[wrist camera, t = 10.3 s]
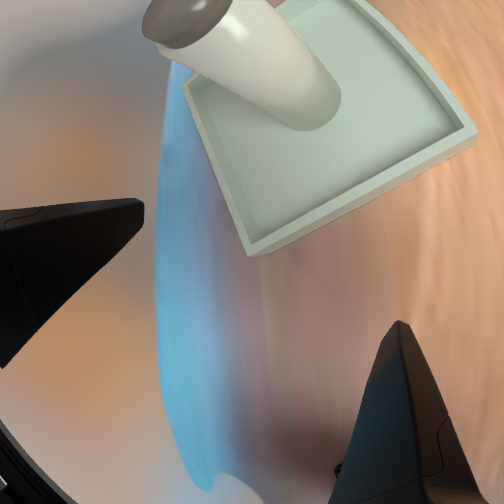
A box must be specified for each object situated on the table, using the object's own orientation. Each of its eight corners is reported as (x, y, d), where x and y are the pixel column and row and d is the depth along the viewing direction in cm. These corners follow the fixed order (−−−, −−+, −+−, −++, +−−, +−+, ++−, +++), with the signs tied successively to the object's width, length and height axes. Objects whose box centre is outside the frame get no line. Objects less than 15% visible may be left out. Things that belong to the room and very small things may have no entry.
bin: (473, 145, 13) (478, 132, 11) (267, 254, 22) (247, 256, 20) (342, -8, 16) (330, -26, 14) (200, 94, 25) (180, 85, 23)
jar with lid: (353, 83, 16) (246, -48, 6) (319, 142, 18) (176, 52, 8) (296, 62, 18) (175, -36, 8) (265, 115, 20) (122, 43, 10)
